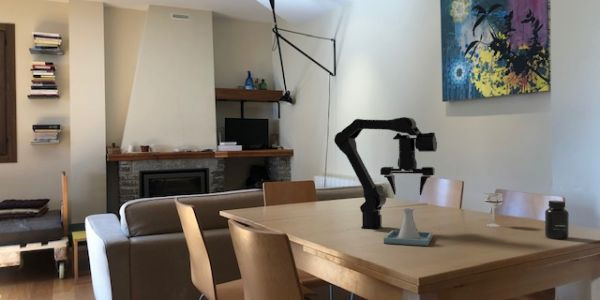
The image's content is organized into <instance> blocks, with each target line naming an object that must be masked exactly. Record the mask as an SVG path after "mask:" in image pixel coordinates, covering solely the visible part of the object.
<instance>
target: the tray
mask: <svg viewBox="0 0 600 300" xmlns="http://www.w3.org/2000/svg"><path fill="white" fill-rule="evenodd" d="M399 232H400V230H394V229H392V230H391V231H389V233H388V234H386V235H385V236H384V237H383V244H384V245H385V244H386V245H387V244H388V245H398V246H399V245H402V246H412V247H413V246H414V247H429V245H430V243H431V241H432V240H433V232H429V231H418V233H419V235H420V239H419V240H418V239H401V238H398V235H399Z"/></svg>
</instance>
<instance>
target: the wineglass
mask: <svg viewBox="0 0 600 300" xmlns="http://www.w3.org/2000/svg"><path fill="white" fill-rule="evenodd" d="M483 195H484V197H483V202H484V204H485V205H486V206H487V207H489V208H490V209H492V223H489V224H486V226H488V227H491V228H492V227H494V228H498V227H501V225H500V224H497V223H495V209H496V208H498V207H500V206H501V205H502V204H503V201H504V197H503V193H501V192H500V193H497V192H487V193H485V192H484V193H483Z"/></svg>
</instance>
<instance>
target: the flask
mask: <svg viewBox="0 0 600 300" xmlns="http://www.w3.org/2000/svg"><path fill="white" fill-rule="evenodd" d="M403 213H404V214H403V215H404V216H403V220H402V224H401V227H400V229H399V231H400V232H399V235H398V238H401V239H418V240H419V239H420V235H419V233H418V232H419V230H418V228H417V226H416V222H415V220H414V214H413V213H414V208H408V207H406V208H403Z"/></svg>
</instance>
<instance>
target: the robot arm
mask: <svg viewBox="0 0 600 300" xmlns="http://www.w3.org/2000/svg"><path fill="white" fill-rule="evenodd" d="M363 130H387V131H388V130H389V131H393V132H397V133H396V135H394V137H393V138H392V140H395V141H396V140H397V141H398V159H397V167H398V168H394V166H383V167H381V168H380V174H379V175H380V176H383V178H386V179H387V181H388V183H389V185H390V187H391V190H392V192H393V195H395V196H396V195H397V192H396V191H397V188H396V182H395V177H396V176H395V174H413V175H414V174H415V175H416V174H421V176H420V182H419V196H422V195H423V191H424V188H425V184H426V182H427V180H428V179H429V178H431V177H432V176H434V175H435V167H434V166H422V167H421V168H418V162H417V160H416V150H418V152H419V153H420V152H421V153H426V152H427V153H429V152H430V153H431V152H437V148H438V141H437V137H436V133H435V132H428V133H427V132H425V133H423V132H421V131H420V129H419V128H418V127H417V121H416V120H415V119H414V118H412V117H406V116H404V117H403V116H402V117H395V118H392V119H361V118H356V119H354V120H353V121H352V122H351V123H350V124H349V125H348V126H345V127H344V128H343V129H342V130H341V131H339V132H337V133H336V134H335V135H334V139H333V142H334V143H335V145H336V146H337V148H338V149H339V151H341V152H342V154H344V155H345V157H346V158H347V160H348V162H349V164H350V166H351V167H352V170H353V172H354V173H355V175H356V177H357V179H358V181H359V183H360V185H361V187H362V189H363V190H362V191H363V198H364V202H363V203H362V204H361V205H360V206H359V208H360V212H361V214H362V217H361V218H362V220H361V221H362V226H361V227H360V228H361V229H374V230H378V229H380V228H381V227H382V226H383V221H382V219H383V216H382V214H381V210H382V207H383V206H384V205H385V204H386V201H387V196H386V195H387V193H386V192H385V191H384V188H383V186H382V185H381V184H380V185H377V184H376V183H375V182H374V180H373V178H372V177H371V175H370V173H369V171H368V169H367V167H366V165H365V163H364V161H363V159H362V158H361V155H360V154H359V151H358V148H357V142H356V139H357V138H358V137H359V135H360V134H361V132H362V131H363ZM411 136H413V137H411Z"/></svg>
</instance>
